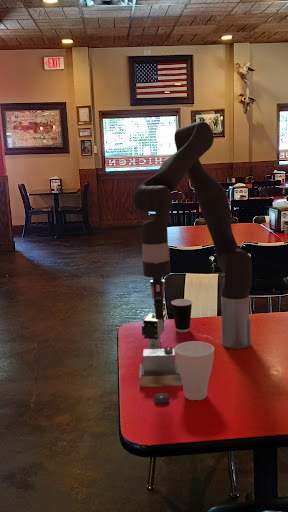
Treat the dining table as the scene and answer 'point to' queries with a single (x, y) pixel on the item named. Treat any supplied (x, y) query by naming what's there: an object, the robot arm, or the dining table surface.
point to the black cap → (161, 398)
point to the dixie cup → (182, 314)
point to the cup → (194, 367)
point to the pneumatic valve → (152, 330)
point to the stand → (159, 378)
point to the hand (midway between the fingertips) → (159, 314)
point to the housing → (159, 360)
